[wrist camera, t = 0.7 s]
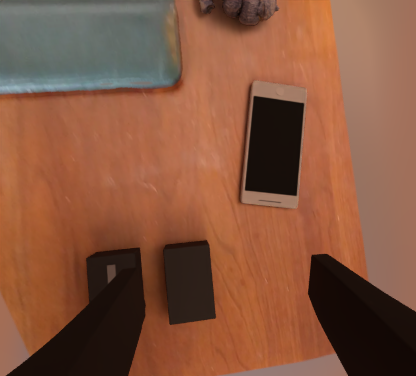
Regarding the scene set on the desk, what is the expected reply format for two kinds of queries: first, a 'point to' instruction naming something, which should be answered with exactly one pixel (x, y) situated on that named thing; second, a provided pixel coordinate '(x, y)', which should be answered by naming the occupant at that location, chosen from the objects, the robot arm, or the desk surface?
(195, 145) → the desk surface
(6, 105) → the desk surface
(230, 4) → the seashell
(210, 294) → the pad
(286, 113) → the smartphone
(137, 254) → the pad
